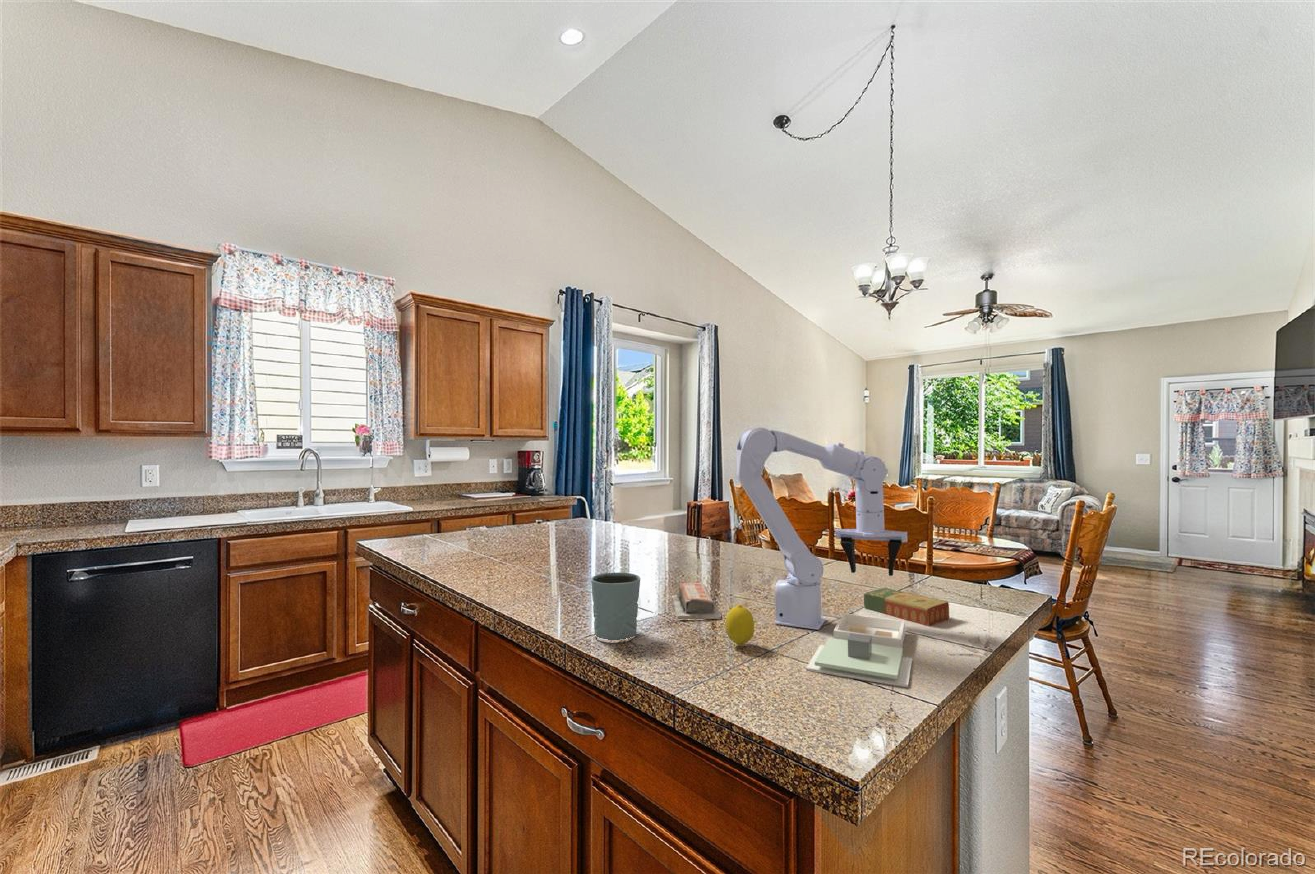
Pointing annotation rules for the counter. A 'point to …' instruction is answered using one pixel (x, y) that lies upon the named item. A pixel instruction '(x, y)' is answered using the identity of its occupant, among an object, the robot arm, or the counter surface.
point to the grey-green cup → (615, 605)
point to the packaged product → (694, 602)
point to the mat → (901, 681)
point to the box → (872, 629)
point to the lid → (860, 656)
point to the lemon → (739, 625)
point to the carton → (907, 606)
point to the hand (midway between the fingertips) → (871, 573)
